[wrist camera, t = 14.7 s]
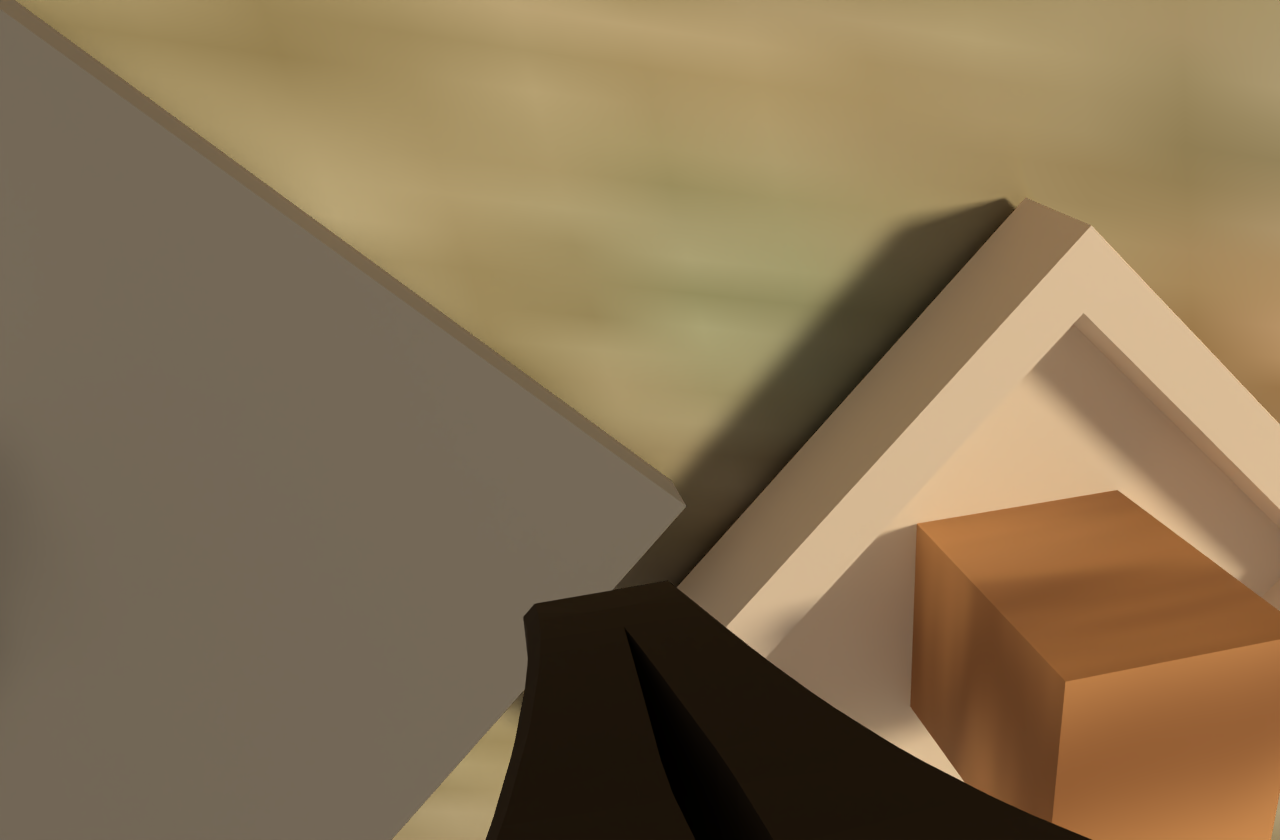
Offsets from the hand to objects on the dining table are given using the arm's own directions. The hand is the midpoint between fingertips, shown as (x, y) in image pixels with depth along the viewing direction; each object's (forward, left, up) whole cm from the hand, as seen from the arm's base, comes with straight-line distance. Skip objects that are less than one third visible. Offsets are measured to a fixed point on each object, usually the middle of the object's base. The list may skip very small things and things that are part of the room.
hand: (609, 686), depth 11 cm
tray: (+2, -11, -9) cm, 15 cm away
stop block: (+2, -11, -9) cm, 14 cm away
